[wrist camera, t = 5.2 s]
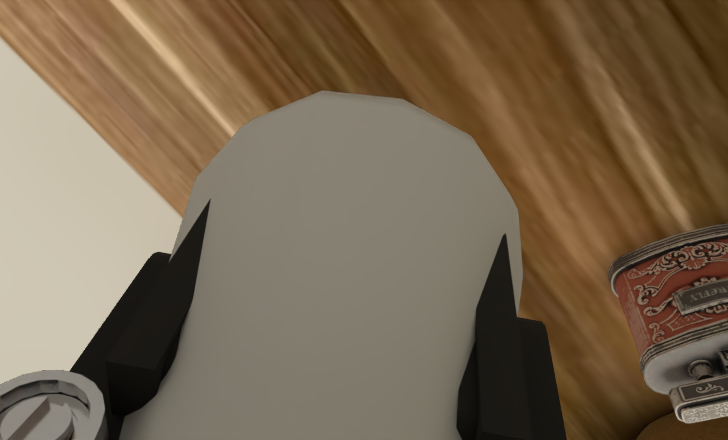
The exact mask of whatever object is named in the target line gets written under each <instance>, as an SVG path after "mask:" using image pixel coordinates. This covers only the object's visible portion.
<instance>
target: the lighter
mask: <svg viewBox="0 0 728 440" xmlns="http://www.w3.org/2000/svg"><path fill="white" fill-rule="evenodd" d="M608 279H609V282H610V285H611V288H612V290H613V292H614V294H615V295H616V296H617V297H618V298H619V300H620V303H621V305H622V308H623V311H624V314H625V316H626V319H627V322H628V325H629V327H630V330H631V333H632V336H633V338H634V341H635V344H636V347H637V349H638V352H639V355H640V357H641V358H640V369H641V372H642V375H643V377H644V380H645V382H646V384H647V385H648V387H650V388H651V389H652V390H654V391H655V392H658V393H661V394H668V395H669V398H670V401H671V404H672V406H673V409H674V411H675V414H676V416H677V418H678V420H680V421H683V422H685V423H694V422H699V421H705V420H710V419H715V418H720V417H725V416H728V224H721V225H714V226H709V227H705V228H700V229H696V230H692V231H688V232H683V233H679V234H676V235H673V236H670V237H668V238H665V239H662V240H659V241H656V242H653V243H650V244H648V245H645V246H643V247H641V248H639V249H636V250H634V251H632V252H630V253H628V254H625V255H623V256H621V257H619V258H618V259H616V260H615V261H613V263H612V264H611V265H610V267H609V270H608Z"/></svg>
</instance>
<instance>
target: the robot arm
mask: <svg viewBox="0 0 728 440" xmlns="http://www.w3.org/2000/svg"><path fill="white" fill-rule="evenodd" d="M210 201H211V198H210V200H209V201H208V203H207V204H206V206H205V208H204V209H203V211H202V212H201V214H200V215H199V217H198V218H197V220H196V221H195V223H194V224H193V226H192V228H191V229H190V231H189V232H188V234H187V235H186V237H185V238H184V240H183V241H182V243H181V244H180V246H179V248H178V249H177V251H176V252H175V254H174V255H173V257H172V258H171V260H170V257H171V254H167V253H162V252H156V253H154V254H152V256H151V257H150V258H149V259H148V260H147V261H146V263H145V264H144V266H143V267H142V269H141V270H140V272H139V273H138V274H137V276H136V277H135V279H134V280H133V281H132V283H131V284H130V286H129V287H128V289H127V290H126V292H125V293H124V294H123V296H122V297H121V299H120V300H119V302H118V303H117V304H116V306H115V307H114V309H113V310H112V311H111V313H110V314H109V316H108V317H107V318H106V320H105V322H104V323H103V324H102V326H101V327H100V328H99V330H98V331H97V333H96V334H95V336H94V337H93V339H92V340H91V342H90V343H89V344H88V346H87V347H86V348H85V350H84V351H83V353H82V354H81V356H80V357H79V358H78V360H77V361H76V363H75V364H74V365H73V367H72V368H71V370H70V371H64V370H42V371H38V372H33V373H29V374H24V375H21V376H18V377H16V378H14V379H11V380H9V381H7V382H4V383H2V384H0V440H119V438H120V434H121V430H122V426H123V422H124V418H125V416H127V415H129V414H131V413H133V412H135V411H137V410H139V409H141V408H142V407H144V406H145V405H146V404H147V403H148V402H149V401H150V400H152V399H153V398H154V397H155V396H156V394H157V392H158V389H159V386H160V383H161V381H162V380H163V379H164V377H165V376H166V375H167V373H168V371H169V370H170V368H171V366H172V364H173V362H174V359H175V357H176V354H177V350H178V345H179V340H180V334H181V329H182V325H183V324H184V321H185V319H186V316H187V313H188V311H189V308H190V306H191V303H192V300H193V296H194V291H195V285H196V280H197V274H198V268H199V263H200V257H201V251H202V246H203V240H204V235H205V229H206V223H207V218H208V212H209V206H210ZM169 260H170V261H169ZM457 430H458V432H459V434H460V436H461V438H462V440H567V438H566V433H565V428H564V422H563V417H562V411H561V406H560V400H559V395H558V390H557V384H556V379H555V373H554V368H553V363H552V357H551V352H550V346H549V341H548V335H547V331H546V328H545V325H544V324H543V323H542V322H541V321H535V320H530V319H524V318H519V317H517V313H516V306H515V298H514V290H513V282H512V275H511V267H510V259H509V251H508V244H507V236H506V233H505V234H504V235H503V236H502V239H501V242H500V244H499V247H498V250H497V252H496V255H495V258H494V261H493V263H492V266H491V269H490V272H489V274H488V277H487V280H486V283H485V285H484V288H483V291H482V293H481V296H480V299H479V302H478V304H477V307H476V328H475V343H474V346H473V349H472V351H471V354H470V357H469V360H468V363H467V366H466V369H465V372H464V375H463V378H462V381H461V383H460V386H459V391H458V410H457Z"/></svg>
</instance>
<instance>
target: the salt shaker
mask: <svg viewBox="0 0 728 440" xmlns="http://www.w3.org/2000/svg"><path fill="white" fill-rule="evenodd" d="M210 198H211V201H210V206H209V212H208V218H207V223H206V229H205V235H204V240H203V246H202V251H201V257H200V263H199V268H198V274H197V280H196V285H195V291H194V296H193V300H192V303H191V306H190V308H189V311H188V313H187V316H186V319H185V321H184V324H183V325H182V329H181V334H180V340H179V345H178V350H177V354H176V357H175V359H174V362H173V364H172V366H171V368H170V370H169V371H168V373H167V375H166V376H165V377H164V379H163V380H162V381H161V383H160V386H159V389H158V392H157V394H156V396H155V397H154V398H153V399H152V400H150V401H149V402H148V403H147V404H146V405H145V406H144V407H142V408H141V409H139V410H137V411H135V412H133V413H131V414H129V415H127V416H125V418H124V422H123V426H122V430H121V434H120V438H119V440H462V438H461V436H460V434H459V432H458V430H457V410H458V391H459V386H460V383H461V381H462V378H463V375H464V372H465V369H466V366H467V363H468V360H469V357H470V354H471V351H472V349H473V346H474V343H475V328H476V307H477V304H478V302H479V299H480V296H481V293H482V291H483V288H484V285H485V283H486V280H487V277H488V274H489V272H490V269H491V266H492V263H493V261H494V258H495V255H496V252H497V250H498V247H499V244H500V242H501V239H502V236H503V235H504V234H505V233H506V236H507V244H508V251H509V259H510V267H511V275H512V282H513V290H514V298H515V306H516V313H517V317H518V310H519V302H520V295H521V287H522V279H523V268H522V255H521V242H520V229H519V216H518V209H517V207H516V205H515V203H514V201H513V199H512V197H511V195H510V194H509V192H508V190H507V189H506V187H505V186H504V184H503V183H502V181H501V180H500V178H499V177H498V175H497V174H496V172H495V171H494V169H493V168H492V166H491V165H490V163H489V162H488V160H487V159H486V157H485V156H484V154H483V153H482V151H481V150H480V148H479V147H478V145H477V144H476V142H475V141H474V139H473V138H472V136H471V135H469V134H467V133H465V132H463V131H461V130H459V129H458V128H456V127H454V126H452V125H450V124H448V123H446V122H445V121H443V120H441V119H439V118H437V117H435V116H433V115H432V114H430V113H428V112H426V111H424V110H422V109H420V108H419V107H417V106H415V105H413V104H411V103H409V102H407V101H406V100H404V99H399V98H389V97H380V96H370V95H360V94H351V93H341V92H331V91H320V92H317V93H315V94H312V95H310V96H308V97H305V98H303V99H300V100H298V101H295V102H293V103H290V104H288V105H286V106H283V107H281V108H278V109H276V110H273V111H271V112H269V113H266V114H264V115H261V116H259V117H256V118H254V119H253V120H251V121H250V122H248V123H247V124H245V125H244V126H242V127H241V128H240V129H239V130H238V131H237V132H236V134H235V135H234V136H233V137H232V138H231V139H230V140H229V142H228V143H227V144H226V145H225V146H224V147H223V148H222V149H221V151H220V152H219V153H218V154H217V155H216V156H215V157H214V159H213V160H212V161H211V162H210V163H209V164H208V165H207V166H206V168H205V169H204V170H203V171H202V172H201V173H200V174H199V175H198V177H197V178H196V179H195V183H194V186H193V189H192V192H191V195H190V198H189V201H188V204H187V207H186V211H185V214H184V217H183V220H182V224H181V226H180V229H179V232H178V236H177V239H176V242H175V245H174V248H173V251H172V254H171V257H170V260H171V258H172V257H173V255H174V254H175V252H176V251H177V249H178V248H179V246H180V244H181V243H182V241H183V240H184V238H185V237H186V235H187V234H188V232H189V231H190V229H191V228H192V226H193V224H194V223H195V221H196V220H197V218H198V217H199V215H200V214H201V212H202V211H203V209H204V208H205V206H206V204H207V203H208V201H209V200H210ZM170 260H169V261H170Z"/></svg>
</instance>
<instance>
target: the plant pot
mask: <svg viewBox="0 0 728 440" xmlns="http://www.w3.org/2000/svg"><path fill="white" fill-rule="evenodd" d="M636 440H728V416H725V417H720V418H715V419H710V420H705V421H699V422H694V423H685V422H683V421H680V420H678V418H677V416H676V414H675V412H674V413H671V414H668V415H665V416H663V417H661V418H659V419H657V420H655V421H653V422H652V423H650V424H649V425H648V426H647V427H646V428H645V429H644V430H643V431H642V432H641V433H640V434H639V436H638V437H637V439H636Z"/></svg>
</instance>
